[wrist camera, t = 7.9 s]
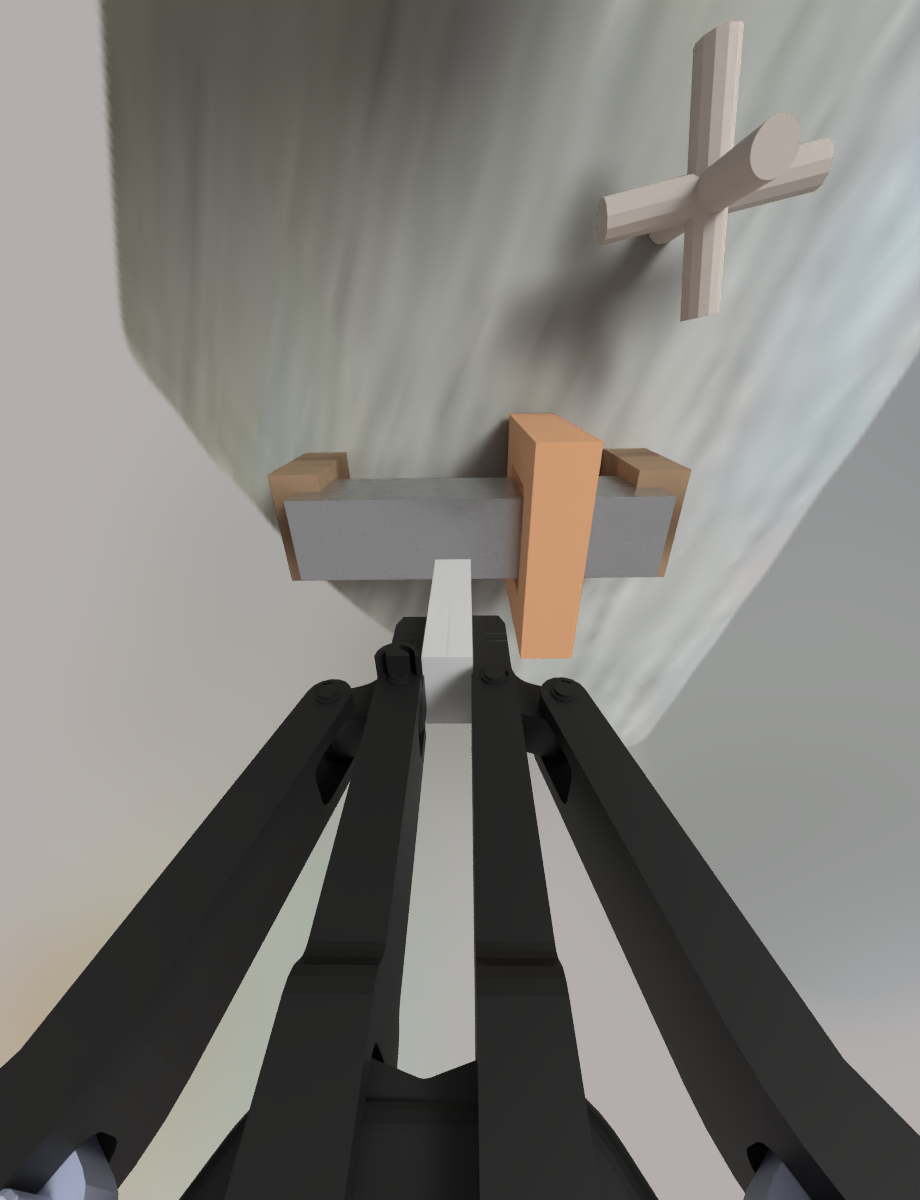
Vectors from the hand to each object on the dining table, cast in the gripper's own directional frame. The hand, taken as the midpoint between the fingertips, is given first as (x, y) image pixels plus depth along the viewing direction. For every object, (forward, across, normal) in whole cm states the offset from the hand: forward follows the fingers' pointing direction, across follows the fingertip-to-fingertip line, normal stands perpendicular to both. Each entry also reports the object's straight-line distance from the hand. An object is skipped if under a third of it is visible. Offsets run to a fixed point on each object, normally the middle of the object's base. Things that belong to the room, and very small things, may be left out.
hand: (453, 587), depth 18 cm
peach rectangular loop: (+16, +5, -1) cm, 17 cm away
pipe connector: (+17, +12, +15) cm, 25 cm away
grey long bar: (+12, +1, -1) cm, 12 cm away
